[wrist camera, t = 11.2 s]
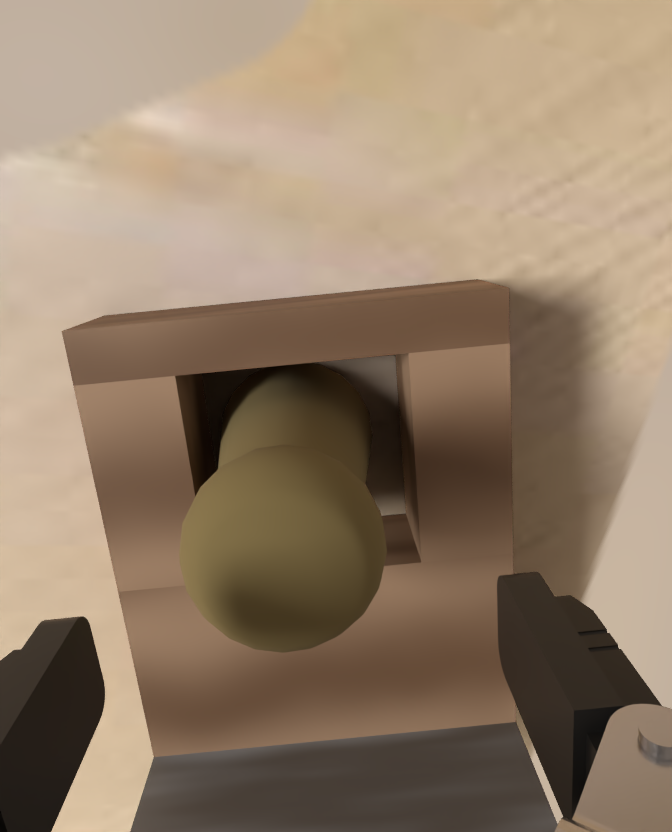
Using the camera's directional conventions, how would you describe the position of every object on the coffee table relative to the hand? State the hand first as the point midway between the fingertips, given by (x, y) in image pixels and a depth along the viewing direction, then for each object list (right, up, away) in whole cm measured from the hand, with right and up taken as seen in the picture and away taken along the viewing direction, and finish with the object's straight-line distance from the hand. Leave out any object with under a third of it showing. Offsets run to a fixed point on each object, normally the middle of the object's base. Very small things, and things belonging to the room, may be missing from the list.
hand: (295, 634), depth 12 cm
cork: (-1, +4, +13) cm, 13 cm away
